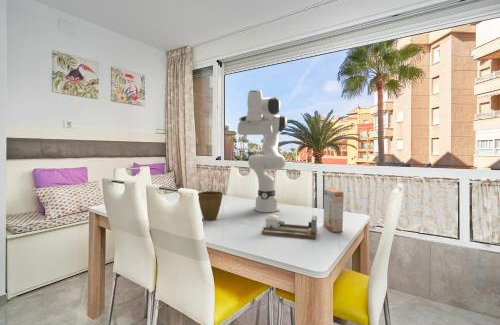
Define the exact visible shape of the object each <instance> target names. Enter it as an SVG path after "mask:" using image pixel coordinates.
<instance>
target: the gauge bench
mask: <svg viewBox="0 0 500 325" xmlns="http://www.w3.org/2000/svg"><path fill="white" fill-rule="evenodd" d="M278 228H280V229H292V230H303V231H307V234H305V233H295V232H284V231H273V230H263V229H262V231H261V234H262V235H266V236H267V235H268V236H275V237H287V238H295V239H296V238H298V239H299V238H300V239H308V240H316V237H317V232H318V229H317V230H316V234H311V228H309V229H307V228H295V227H283V226H279V227H278Z"/></svg>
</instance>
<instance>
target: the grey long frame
mask: <svg viewBox="0 0 500 325" xmlns="http://www.w3.org/2000/svg"><path fill="white" fill-rule="evenodd" d="M317 219H318V215H312V217H311V221H308V225H303V224H293V223H292V224H291V223H285V224H280V226H283V227H295V228H307V229H309V228H311V234H316V235H317V232H316V230H317V231H318V226H317V225H318V224H317V223H318V222H317V221H318V220H317ZM263 230H273V231H284V232H295V233H305V234H307V231H303V230H292V229H280V228H269V227H266V226H263V228H262V231H263Z"/></svg>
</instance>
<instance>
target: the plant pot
mask: <svg viewBox="0 0 500 325" xmlns="http://www.w3.org/2000/svg"><path fill="white" fill-rule="evenodd" d="M197 196H199V198H198V203H199V208H200V211H201V215H202V217H203V219H204V220H205V221H215V220H217V218H218V215H219V211H220V210H221V209H220V208H221V204H222V199H223V192H222V191H214V190H213V191H212V190H211V191H210V190H208V191H200V192H198V193H197Z"/></svg>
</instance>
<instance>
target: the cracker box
mask: <svg viewBox="0 0 500 325" xmlns="http://www.w3.org/2000/svg"><path fill="white" fill-rule="evenodd" d="M323 192H324V193H323V221H322V222H323V224H322V225H323V226H324V227H325V228H326V229H328V230H329V231H330V232H331V233H342V232H343V224H344V218H343V217H344V192H343V191H340V190H338V189H336V188H324V189H323Z"/></svg>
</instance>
